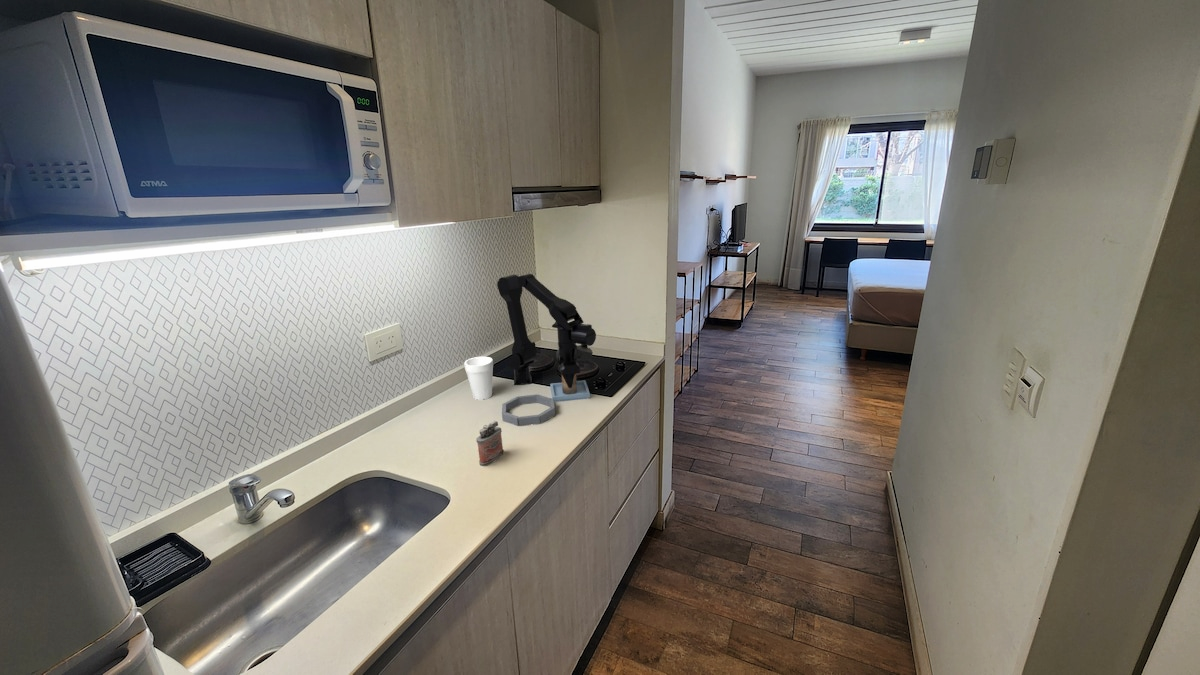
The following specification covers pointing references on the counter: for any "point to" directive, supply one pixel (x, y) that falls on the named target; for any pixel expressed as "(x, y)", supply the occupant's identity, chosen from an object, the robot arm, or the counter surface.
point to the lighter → (490, 444)
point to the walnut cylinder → (566, 389)
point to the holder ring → (533, 418)
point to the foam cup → (480, 376)
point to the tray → (580, 394)
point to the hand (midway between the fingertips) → (569, 383)
